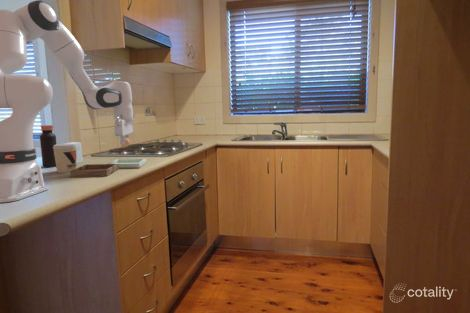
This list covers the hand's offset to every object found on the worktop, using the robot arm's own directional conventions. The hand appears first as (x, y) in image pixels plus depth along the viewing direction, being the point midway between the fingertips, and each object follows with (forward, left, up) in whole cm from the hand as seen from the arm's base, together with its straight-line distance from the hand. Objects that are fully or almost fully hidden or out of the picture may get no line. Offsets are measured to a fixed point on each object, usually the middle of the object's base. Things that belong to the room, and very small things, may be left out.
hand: (125, 143), depth 160 cm
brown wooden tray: (-18, +8, -11) cm, 22 cm away
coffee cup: (-12, +23, -11) cm, 28 cm away
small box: (+11, +30, -11) cm, 34 cm away
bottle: (+2, +37, -11) cm, 39 cm away
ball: (0, 0, +1) cm, 1 cm away
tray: (-1, -1, -11) cm, 11 cm away
